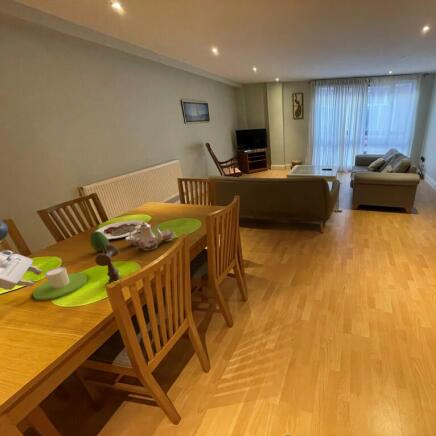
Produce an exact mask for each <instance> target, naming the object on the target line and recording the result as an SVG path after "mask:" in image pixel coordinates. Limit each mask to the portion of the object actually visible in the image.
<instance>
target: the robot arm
mask: <svg viewBox="0 0 436 436" xmlns="http://www.w3.org/2000/svg"><path fill="white" fill-rule="evenodd" d="M8 233H9V226H8V225H7V223H5V222H4V220H2V219H1V218H0V244H1V243H2V241H3V240H4V239H5V238H6V237H7V236H8ZM33 263H34V260H33V259H32V258H30V257H28V256H24V255H22V254H19V253H14V251H12V250H9V249H8V250H3V251H0V289H3V290H7V291H8V290H9V291H10V290H14V288H15V287H16V286H18V287H19V286H20V287H30V288H31V287H33V286H34V285H35V284H36V281H35V280H31V279H30V280H25V279H23V276H24V275H25V274H26V273H27V272H32V273H33V274H34V275H37V276H40V275H41V274H42V272H43V270H42V269H39V268H38V267H36V266H35V265H32V264H33Z"/></svg>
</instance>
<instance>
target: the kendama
mask: <svg viewBox="0 0 436 436" xmlns="http://www.w3.org/2000/svg"><path fill="white" fill-rule="evenodd" d="M102 246H103V251H102V254H98V255H97V256H96V257H95V263H96V264H97V265H98V266H100V267H106V266H107V273H106V276H107V277H109V279H108V283H109V284H111V282H113V281H117V280H119V279H121V278H122V279H123V277H122V276H121V275H120V273H119V269H117V268H116V267H115V265H114V264H113V262H112V257H116V256H117V255H118V254H119V249H118V247H117V246H115V245H113V244H109V245H107V246H105V245H104V243H102ZM122 279H121V280H122Z"/></svg>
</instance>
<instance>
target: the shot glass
mask: <svg viewBox="0 0 436 436" xmlns="http://www.w3.org/2000/svg"><path fill="white" fill-rule="evenodd" d="M68 274H69V273H68V271H67V268H66V267H65V266H60V267H55V268H51V269H50V270H48V271H46V272H45V273H44V276H45V278H46V279H47V281H49V282H50V284H51V285H52V287H53V288H61V287H64V286H66V285H67V284H68V283H69V278H68Z"/></svg>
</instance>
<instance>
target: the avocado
mask: <svg viewBox="0 0 436 436" xmlns="http://www.w3.org/2000/svg"><path fill="white" fill-rule="evenodd" d="M95 231H96V232H95ZM95 231H93V232H92V233H91V235H90V246H91V247H92V249H93V250H95V251H97V252H103V246H102V243H104V245H105V246H107V245H110V240H109V239H107V238H106V236H105V235H103V234H102V233H101V232H98V231H97V230H95Z"/></svg>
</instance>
